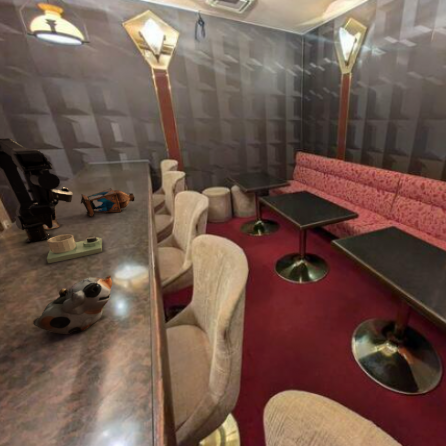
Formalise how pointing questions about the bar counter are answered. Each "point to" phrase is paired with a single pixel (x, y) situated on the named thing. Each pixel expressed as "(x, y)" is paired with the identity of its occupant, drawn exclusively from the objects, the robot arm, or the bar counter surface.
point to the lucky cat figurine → (76, 306)
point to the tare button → (91, 239)
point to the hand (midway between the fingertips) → (52, 223)
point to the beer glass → (55, 223)
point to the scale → (77, 251)
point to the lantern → (107, 201)
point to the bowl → (62, 243)
